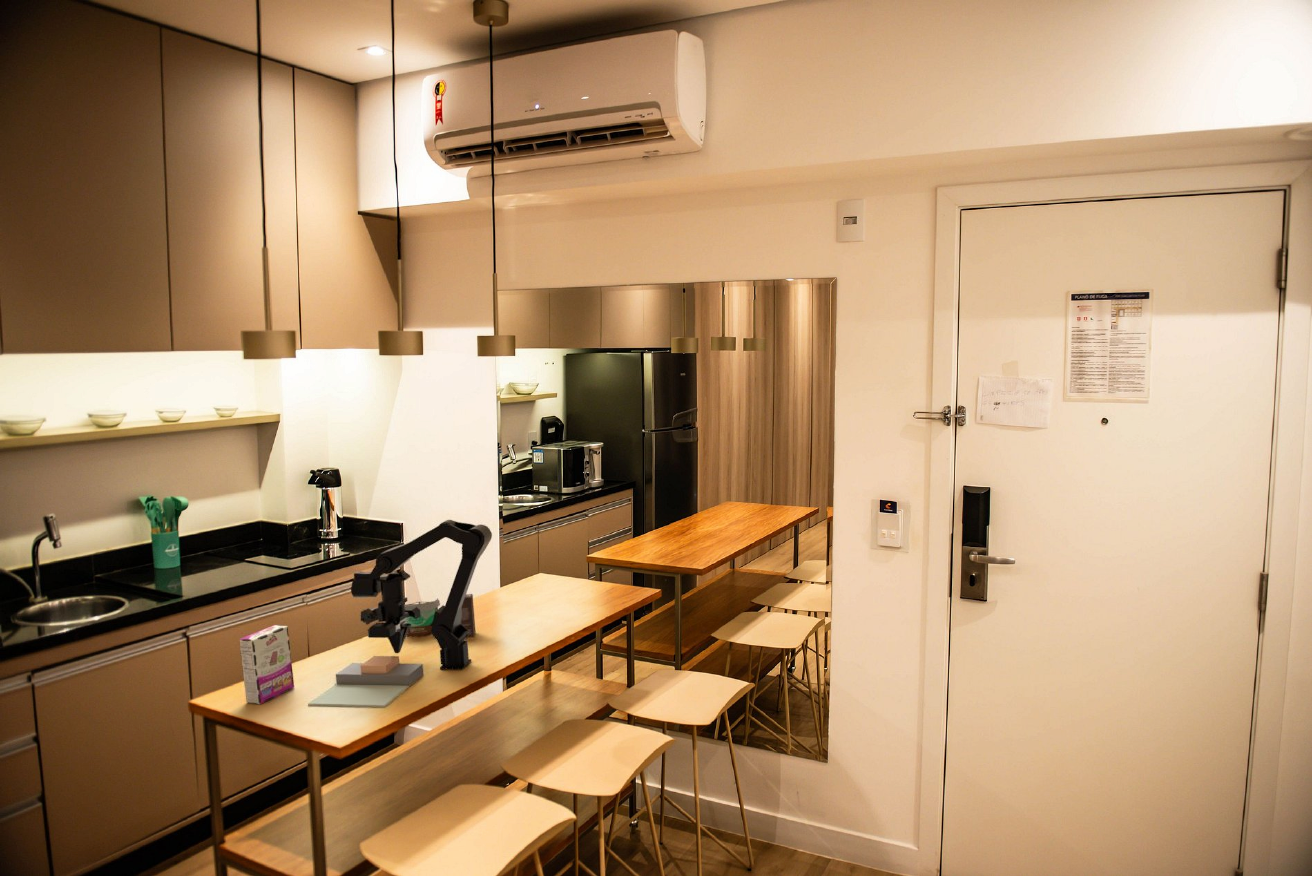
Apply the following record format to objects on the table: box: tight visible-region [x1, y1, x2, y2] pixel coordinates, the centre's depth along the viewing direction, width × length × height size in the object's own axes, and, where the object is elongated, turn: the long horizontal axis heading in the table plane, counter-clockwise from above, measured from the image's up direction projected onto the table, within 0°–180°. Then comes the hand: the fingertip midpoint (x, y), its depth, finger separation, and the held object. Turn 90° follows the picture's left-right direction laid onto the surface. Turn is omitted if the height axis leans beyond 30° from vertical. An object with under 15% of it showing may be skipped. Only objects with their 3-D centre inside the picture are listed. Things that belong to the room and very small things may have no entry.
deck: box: [335, 662, 424, 688], centre depth 215 cm, size 20×8×3 cm, turn 80°
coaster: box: [360, 655, 400, 673], centre depth 215 cm, size 7×7×2 cm
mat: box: [307, 683, 409, 708], centre depth 205 cm, size 20×12×1 cm, turn 80°
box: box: [461, 593, 476, 637], centre depth 248 cm, size 6×4×12 cm
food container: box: [405, 598, 441, 638], centre depth 251 cm, size 12×6×10 cm, turn 105°
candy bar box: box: [238, 624, 295, 705], centre depth 208 cm, size 11×5×16 cm, turn 158°
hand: (397, 652), depth 224 cm, fingers closed
